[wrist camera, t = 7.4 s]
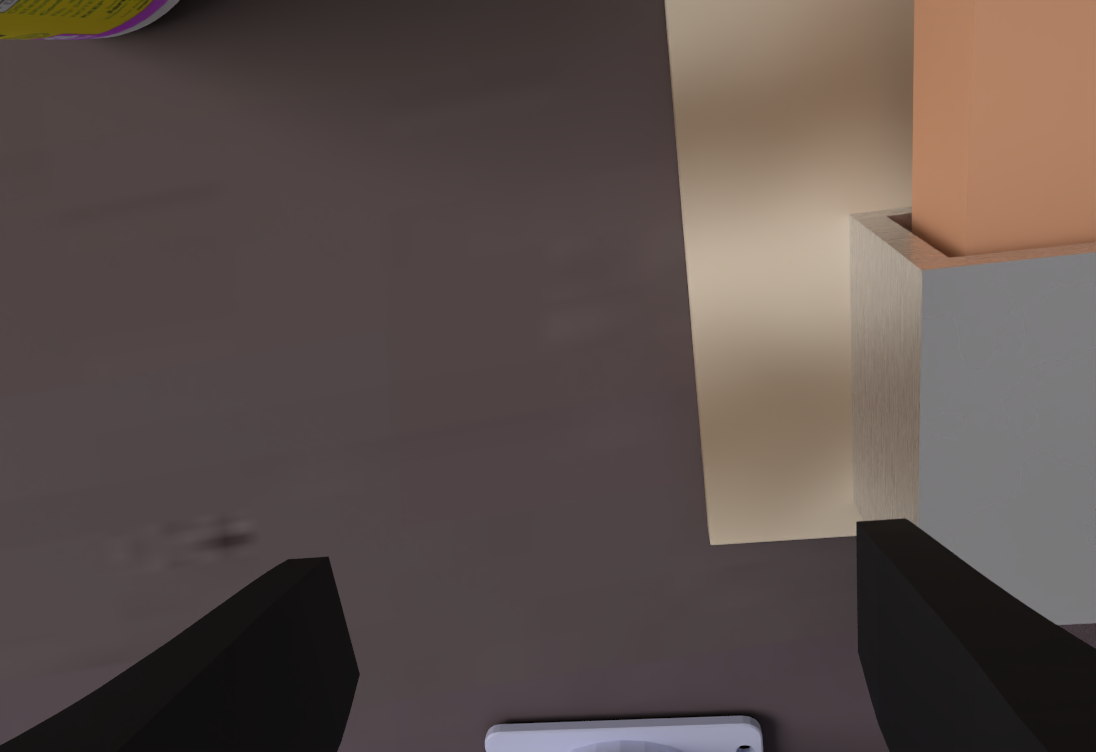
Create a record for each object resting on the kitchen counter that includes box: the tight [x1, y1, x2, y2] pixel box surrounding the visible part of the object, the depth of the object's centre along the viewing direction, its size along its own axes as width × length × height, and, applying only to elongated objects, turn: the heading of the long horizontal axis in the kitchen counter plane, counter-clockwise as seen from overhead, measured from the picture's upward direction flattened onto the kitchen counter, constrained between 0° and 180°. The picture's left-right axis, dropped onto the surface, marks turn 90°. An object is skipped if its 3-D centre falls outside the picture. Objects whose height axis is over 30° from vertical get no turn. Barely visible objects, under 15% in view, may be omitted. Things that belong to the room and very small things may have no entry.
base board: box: [664, 0, 914, 545], centre depth 18 cm, size 19×12×1 cm, turn 8°
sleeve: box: [849, 207, 1096, 625], centre depth 17 cm, size 7×5×5 cm
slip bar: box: [912, 0, 1096, 258], centre depth 13 cm, size 12×3×6 cm, turn 8°
